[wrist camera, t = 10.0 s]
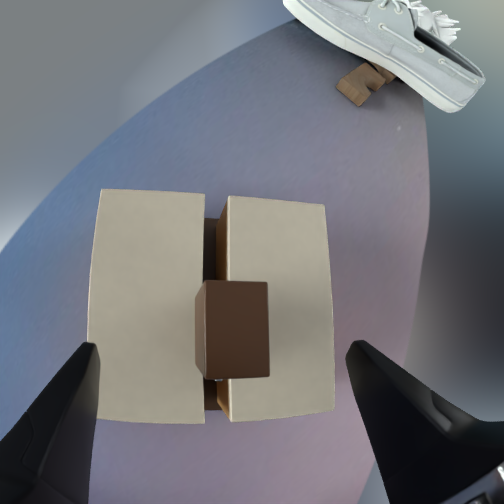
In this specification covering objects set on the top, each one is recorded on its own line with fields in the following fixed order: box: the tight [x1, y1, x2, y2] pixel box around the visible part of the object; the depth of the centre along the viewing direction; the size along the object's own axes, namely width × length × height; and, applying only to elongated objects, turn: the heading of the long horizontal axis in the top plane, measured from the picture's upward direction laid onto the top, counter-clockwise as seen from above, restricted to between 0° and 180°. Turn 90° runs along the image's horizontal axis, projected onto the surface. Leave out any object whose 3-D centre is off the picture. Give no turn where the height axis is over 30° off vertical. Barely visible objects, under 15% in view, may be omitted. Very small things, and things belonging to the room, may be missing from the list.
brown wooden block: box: [195, 280, 270, 381], centre depth 13 cm, size 4×2×9 cm, turn 1°
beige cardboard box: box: [87, 189, 335, 424], centre depth 16 cm, size 12×12×5 cm
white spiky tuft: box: [400, 0, 461, 45], centre depth 28 cm, size 11×12×8 cm
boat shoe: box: [283, 0, 485, 113], centre depth 24 cm, size 25×9×8 cm, turn 65°
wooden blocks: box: [336, 59, 396, 107], centre depth 31 cm, size 30×3×8 cm
